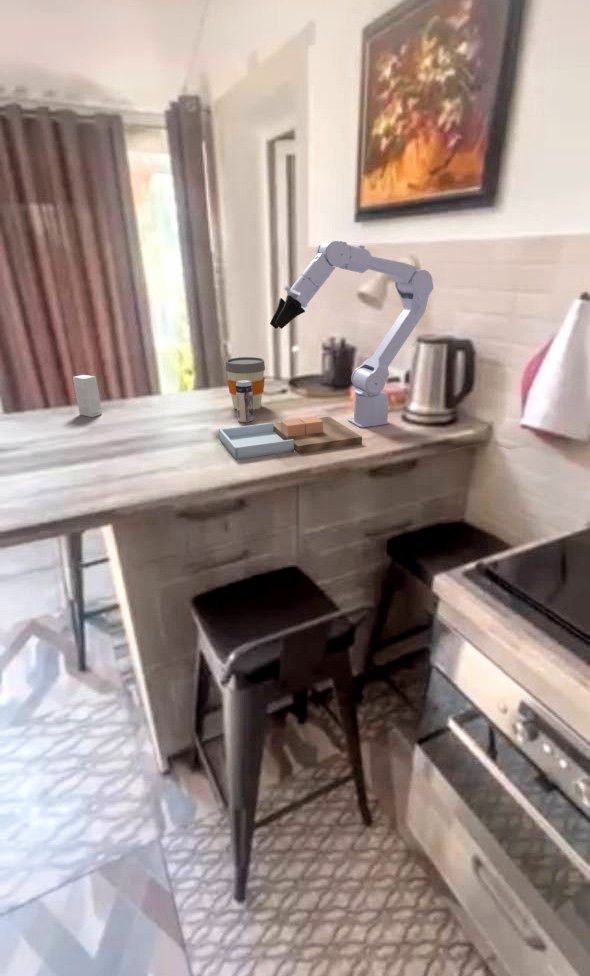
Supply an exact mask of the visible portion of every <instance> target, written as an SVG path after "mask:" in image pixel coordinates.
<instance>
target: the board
mask: <svg viewBox="0 0 590 976" xmlns="http://www.w3.org/2000/svg"><path fill="white" fill-rule="evenodd" d="M318 418H319V419H320V420H322V421H323V432H321V433H314V434H305V435H299V436H291V437H287V436H286V435H285V434H283V433H282V432H281V422H276V423H273V429H274V432H275V433H276V434H277V435H278V436H279V437H281V438H282V439H283V440H291V439H293V440H294V450H295V451H294V452H295V453H297V454H298V453H299V454H304V453H310V452H311V453H312V452H318V451H323V450H324V451H325V450H331V449H338V448H343V447H345V448H346V447H350V446H352V447H353V446H358V445H362V444H363V436H361V435H360V434H359V433H357V432H355V431H353V429H350V428H348V427H347V426H346V425H343V424H342V423H340V422H339V421H337V420H336V419H334V418H333V417H331V416H324V417H318Z"/></svg>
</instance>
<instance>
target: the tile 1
mask: <svg viewBox="0 0 590 976" xmlns="http://www.w3.org/2000/svg"><path fill="white" fill-rule="evenodd" d="M280 423H281V432H282V433H283V434H285V435H286V436H287V437H291V436H299V435H305V423H304V422H302V421H301V420H299V418H292V419H285V420H284V419H283V420H280Z"/></svg>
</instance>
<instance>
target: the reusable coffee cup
mask: <svg viewBox="0 0 590 976" xmlns="http://www.w3.org/2000/svg"><path fill="white" fill-rule="evenodd" d="M265 370H266V365H265V360H264V358H261V357H254V356H253V357H252V356H251V357H250V356H245V357H244V356H243V357H241V356H240V357H232V358H229V359H226V360H225V371H226V373H227V379H226V380H227V381H226V382H227V386H228V392H229V394H231V395H230V396H231V401H232V406H233V409H234V410H236V409H237V399H236V383H237V381H238V380H250V381H251V383H252V391H253V411H256V410H259V409H260V408H261V407H262V400H263V399H262V398H263V393H264V389H265V388H264V387H265ZM255 409H256V410H255Z"/></svg>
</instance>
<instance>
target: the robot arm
mask: <svg viewBox="0 0 590 976" xmlns="http://www.w3.org/2000/svg"><path fill="white" fill-rule="evenodd" d="M336 268H339V269H341V270H347V271H351V272H356V273H359V274H363V273H365V272H367V271H368V270H369V271H374V272H378V273H381V274H385V275H388V276H390V278H391V282H392V283H393V282H394V287H395V289H396V291H397V293H398V295H399V298H400V299H401V303H402V305H403V309H402V311H401V312H400V313H399V315H398V317H397V318H396V320H395V321H394V323H393V324H392V326H391V327H390V329H389V330H388V331H387V333H386V335H385V336H384V337H383V339H382V340H381V342H380V344H379V345H378V346H377V348H376V349H375V351H374V353H373V354H372V356H371V357H369V358H368V359H365V360H364V361H363V362H362V363H361V365H360V366H358V367H357V368H355V369H354V370H353V372H352V374H351V377H350V378H351V379H350V380H351V383H352V385H353V386H354V402H353V403H354V404H353V417H352V418H348V419H347V421H348V422H350V423H352V424H353V425H355V426H357V427H359V428H367V427H368V428H369V427H374V426H375V427H376V426H383V425H389V424H390V422H389V421H388V419H389V418H388V415H389V396H388V394H387V393H386V392H385V391H383V390H384V388H385V386H386V385H385V384H386V382H387V379H388V377H389V375H390V373H389V371H390V370H389V366H390V365H391V363H392V362H393V360H394V359H395V358H396V356H397V354H398V353H399V351H400V350H401V349H402V348H403V346H404V345H405V343H406V341H407V340H408V338H409V337H410V335H411V334H412V332H413V330H414V329H415V327H417V325H418V323H419V321H420V320H421V319H422V318H423V316H424V314H425V312H426V308H427V305H428V302H429V301H428V300H429V297H430V296H429V295H430V294H431V293H432V292H433V290H434V283H433V277H432V274H431V273H430V272H429V270H426V269H420V268H419V267H418V266H416V265H412V264H408V263H405V262H401V261H396V260H390V259H386V258H380V257H376V256H373V255H372V254H371V251H370V250H369V249H367V248H366V247H365V245H362V244H361V245H360V244H359V245H357V246H354V245H351V244H347V242H346V241H342V240H340V241H339V240H331V241H329V240H328V241H324V242H323V243H322V244H321V245H318V247H317V250H316V255H315V257H314V258H313V259H312V260H311V261H310V263H308V265H307V267H306V268H305V269H304V270H303V272H302V273H301V274H300V276H299V277H298V278H297V279H296V281H295V282H294V283H293V285H292V286H291V287H289V286H288V285H286V286H285V287H284V290H285V291H286V292H287V295H286V297H285V298H286V299H285V300H284V299H283V297H280V298H279V300H278V305H277V308H276V311H275V313H274V315H273V316H272V318H271V321H270V322H269V325H271V326H272V327H273V328H274V329H275V330H277V329H283V328H284V327H286V326H287V325H288V324H289V323H290V322H291V321H292V320H294V319H295V318H296V317H299V316H300V315H301V314H304V313H305V312H306V310H305V309H304V308H307V306H308V304H309V303H310V301H311V300H312V299H313V298H314V297H315V295H316V294H317V292H318V291H319V290H320V289H321V288H322V286H323V285H324V284H325V282H326V281H327V279H329V277H330V276H331V274H332V273H333V272H334V271H335V269H336Z"/></svg>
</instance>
